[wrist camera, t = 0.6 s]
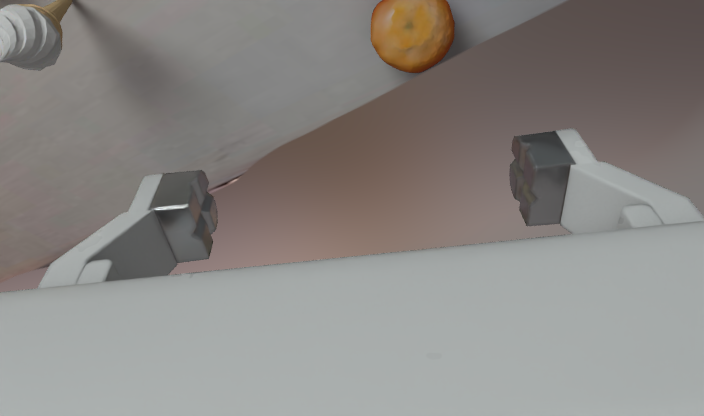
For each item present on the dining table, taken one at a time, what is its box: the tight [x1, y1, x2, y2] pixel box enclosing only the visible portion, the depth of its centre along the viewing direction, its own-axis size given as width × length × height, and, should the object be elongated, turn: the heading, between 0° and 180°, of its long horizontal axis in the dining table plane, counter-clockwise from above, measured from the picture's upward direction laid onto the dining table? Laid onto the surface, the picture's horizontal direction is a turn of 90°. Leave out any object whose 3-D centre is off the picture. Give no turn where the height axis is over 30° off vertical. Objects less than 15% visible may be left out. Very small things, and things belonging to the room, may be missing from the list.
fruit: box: [371, 0, 454, 73], centre depth 54 cm, size 8×8×8 cm
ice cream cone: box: [0, 0, 73, 71], centre depth 47 cm, size 6×6×15 cm
